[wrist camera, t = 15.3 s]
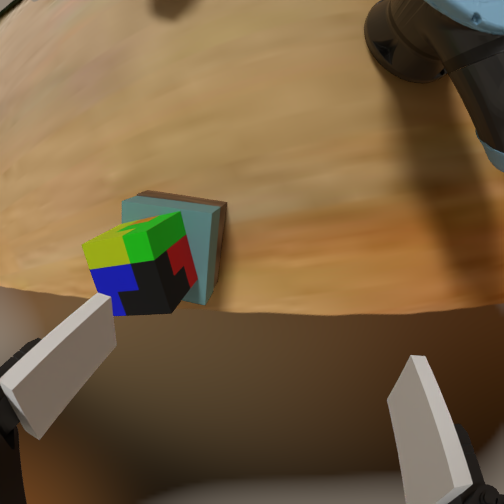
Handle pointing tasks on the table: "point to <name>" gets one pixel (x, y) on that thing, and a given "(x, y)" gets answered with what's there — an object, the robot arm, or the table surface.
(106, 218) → the table surface
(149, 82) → the table surface
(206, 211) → the top block
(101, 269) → the puzzle toy
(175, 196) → the base block
